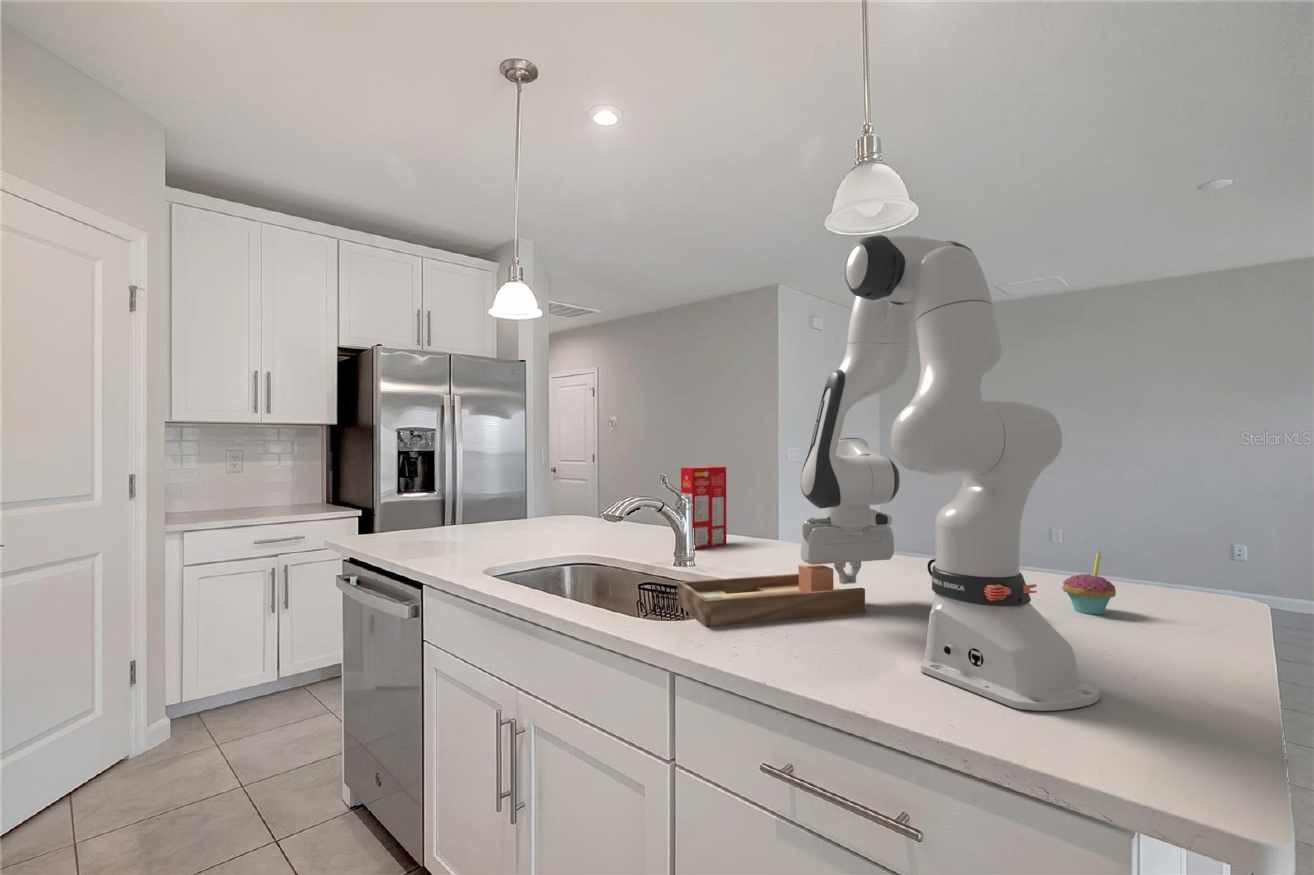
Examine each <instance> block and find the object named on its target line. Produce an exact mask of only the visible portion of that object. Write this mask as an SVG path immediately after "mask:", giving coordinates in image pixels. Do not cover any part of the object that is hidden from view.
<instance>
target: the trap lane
mask: <svg viewBox="0 0 1314 875" xmlns="http://www.w3.org/2000/svg"><path fill="white" fill-rule="evenodd" d="M676 587H677V597H676V598H677V605H678V606H679V607H680V608H682V609H683V610H685V611H686V612H687V613H688V614H689V615H691V616H692V617H693V618H695V620H697V621H698V622H700V623H701V625H703V626H704V627H714V626H725V625H737V624H746V623H747V624H748V623H758V622H769V621H770V622H771V621H781V620H789V619H790V620H793V619H803V618H814V617H815V618H816V617H823V616H824V617H825V616H827V617H828V616H836V615H837V616H838V615H847V614H857V613H858V614H859V613H865V612H866V589H865V587H855V588H842V589H841V588H838V587H836V586H833V590H825V591H812V592H802V591H800V590H799V573H791V574H790V573H789V574H777V575H776V574H774V575H762V576H760V575H759V576H747V577H745V576H744V577H733V578H731V577H730V578H729V577H728V578H718V579H717V578H716V579H702V580H687V581H677V586H676Z"/></svg>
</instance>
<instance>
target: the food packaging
mask: <svg viewBox="0 0 1314 875" xmlns="http://www.w3.org/2000/svg"><path fill="white" fill-rule="evenodd" d="M681 492H682V493H683V494H685V495H686V496H687V497H689V498H690V501H692V504H693V528H694V545H695V549H696V550H695V551H697V550H704V549H709V548H717V547H724V546H727V467H726V466H694V467H693V466H692V467H690V466H689V467H680V493H681Z"/></svg>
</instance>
